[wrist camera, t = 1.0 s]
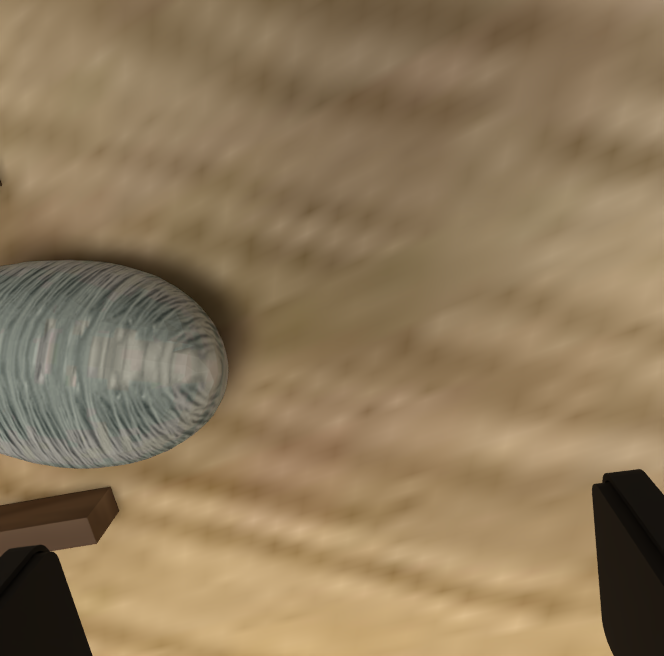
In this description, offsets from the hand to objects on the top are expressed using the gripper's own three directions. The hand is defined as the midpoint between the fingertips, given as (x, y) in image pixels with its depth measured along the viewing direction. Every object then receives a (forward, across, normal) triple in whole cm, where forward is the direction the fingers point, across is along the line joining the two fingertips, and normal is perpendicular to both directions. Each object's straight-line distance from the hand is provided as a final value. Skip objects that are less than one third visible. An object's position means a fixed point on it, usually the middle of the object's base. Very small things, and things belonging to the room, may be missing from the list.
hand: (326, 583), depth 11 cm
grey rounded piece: (+22, +13, 0) cm, 25 cm away
